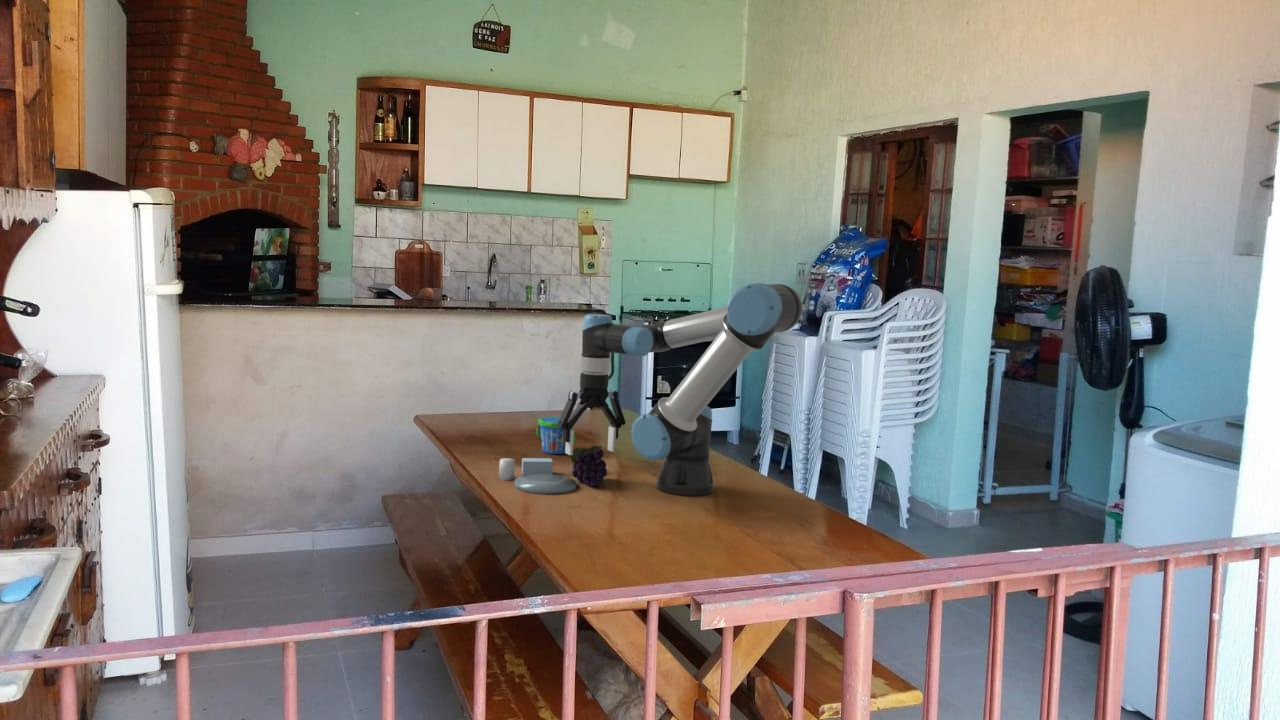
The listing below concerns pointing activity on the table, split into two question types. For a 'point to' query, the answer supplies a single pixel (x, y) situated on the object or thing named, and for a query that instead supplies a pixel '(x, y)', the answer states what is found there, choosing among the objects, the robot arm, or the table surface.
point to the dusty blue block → (537, 466)
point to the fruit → (589, 465)
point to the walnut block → (571, 466)
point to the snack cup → (551, 435)
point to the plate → (545, 484)
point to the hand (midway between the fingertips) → (590, 452)
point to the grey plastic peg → (506, 469)
